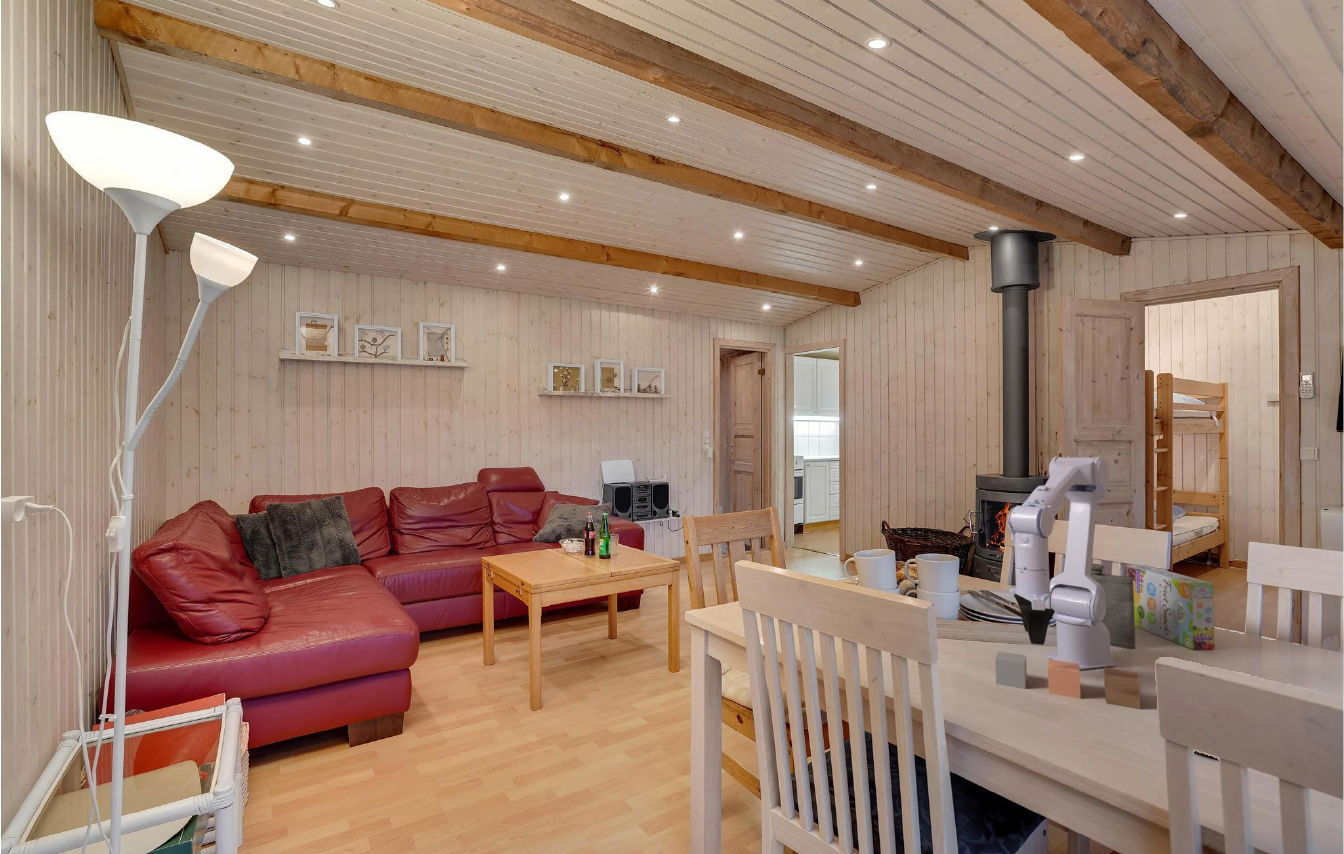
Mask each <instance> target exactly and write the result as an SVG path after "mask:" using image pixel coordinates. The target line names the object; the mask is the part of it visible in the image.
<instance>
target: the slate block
mask: <svg viewBox="0 0 1344 854" xmlns="http://www.w3.org/2000/svg"><path fill="white" fill-rule="evenodd" d="M1027 670H1028V669H1027V655H1025V654H1018V653H1017V654H1016V653H1011V652H1005V651H997V653H996V656H995V684H996V685H1000V686H1005V687H1009V688H1017V689H1022V690H1026V687H1027V680H1028V676H1027V673H1028V672H1027Z"/></svg>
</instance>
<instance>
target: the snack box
mask: <svg viewBox="0 0 1344 854" xmlns="http://www.w3.org/2000/svg"><path fill="white" fill-rule="evenodd" d="M1124 571H1125V573H1124V576H1125V577H1131V578H1133V589H1134V619H1135V627H1137V628H1139V629H1142V630H1144V631H1147V632H1149V633H1152V634H1154V635H1157V636H1159V637H1161V638H1164V639H1166V640H1169V641H1171V642H1173V643H1176V644H1179V645H1181V646H1184V647H1186V648H1188V649H1191V650H1203V651H1204V650H1207V651H1208V650H1209V651H1213V650H1215V608H1214V607H1215V602H1214V601H1215V599H1214V594H1215V593H1214V587H1215V586H1214V582H1211V581H1210V582H1209V581H1206V580H1202V579H1199V578H1195V577H1191V576H1188V575H1185V574H1179V573H1176V572H1173V571H1169V570H1164V569H1161V568H1157V567H1154V566H1150V565H1146V564H1125V566H1124Z"/></svg>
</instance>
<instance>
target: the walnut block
mask: <svg viewBox="0 0 1344 854" xmlns="http://www.w3.org/2000/svg"><path fill="white" fill-rule="evenodd" d="M1103 672H1104V673H1103V676H1104V697H1105V704H1107V705H1114V706H1117V707H1124V708H1130V709H1136V710H1141V687H1140V686H1141V684H1140V682H1141V681H1140V679H1139V675H1138V672H1136V671H1131V670H1123V669H1119V668H1118V669H1117V668H1111V667H1103Z"/></svg>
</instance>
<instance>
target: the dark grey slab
mask: <svg viewBox="0 0 1344 854" xmlns="http://www.w3.org/2000/svg"><path fill="white" fill-rule="evenodd" d="M1104 569H1105V566H1104V565H1103V564H1099V563H1092V565H1091V577H1092V578H1093V579H1094V580H1096V581H1097V582H1098V583H1099V584H1100V585H1101V586H1102V587H1103V588H1104V591H1105V602H1106V613H1105V617H1104V619H1103V620H1102V621H1101V622H1102V623H1104V624H1105V626H1106V627H1107V629H1108V631H1109V635H1110V647H1116V648H1120V649H1128V650H1135V649H1136V626H1135V619H1134V589H1133V578H1131V577H1125V575H1124V576H1123V575H1117V574H1116V575H1115V574H1108V573H1107V574H1106V573H1104ZM1063 572H1064V568H1063V569H1062V573H1063ZM1065 588H1069V589H1075V590H1081V591H1087V592H1091V591H1090V590H1085V589H1079V588H1073V587H1065Z"/></svg>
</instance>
